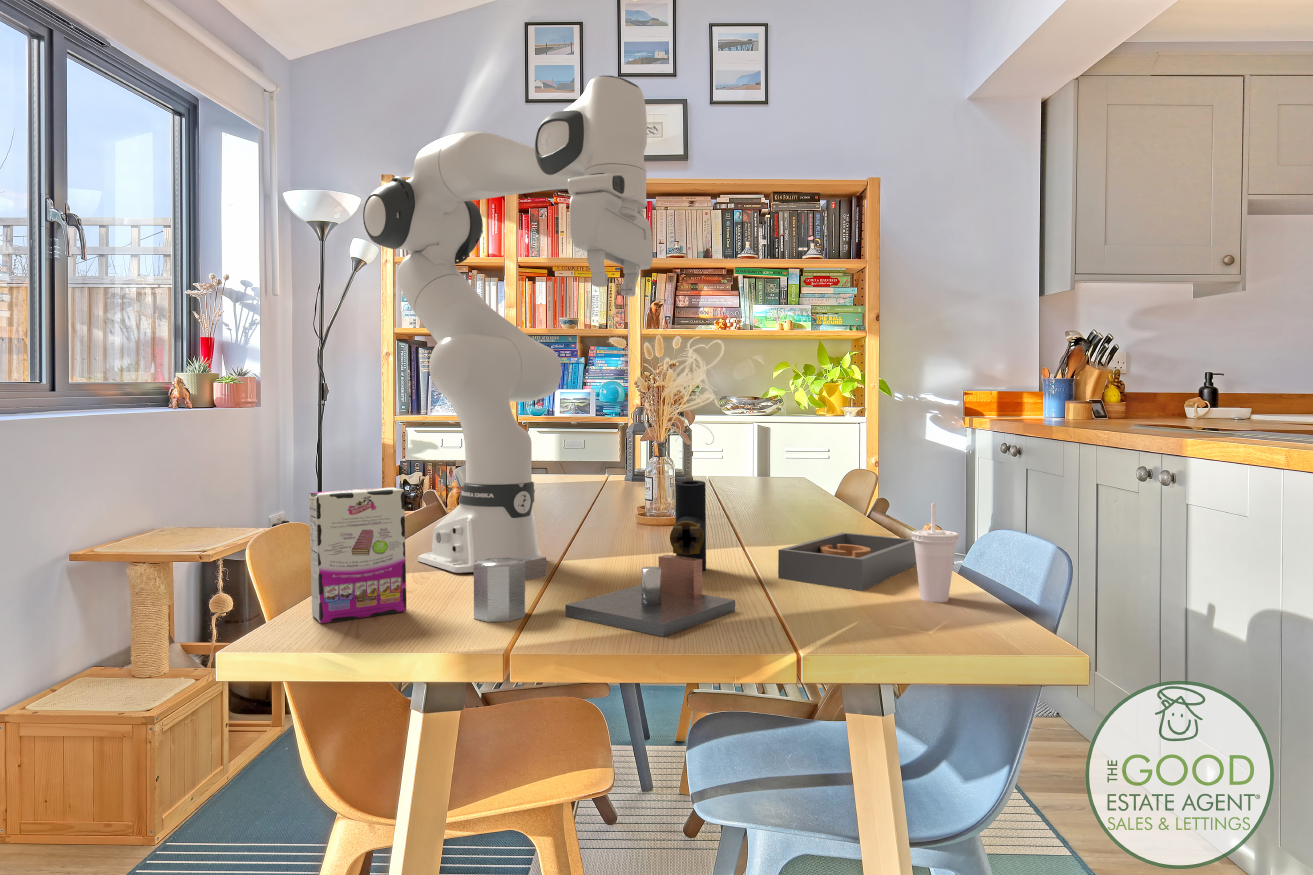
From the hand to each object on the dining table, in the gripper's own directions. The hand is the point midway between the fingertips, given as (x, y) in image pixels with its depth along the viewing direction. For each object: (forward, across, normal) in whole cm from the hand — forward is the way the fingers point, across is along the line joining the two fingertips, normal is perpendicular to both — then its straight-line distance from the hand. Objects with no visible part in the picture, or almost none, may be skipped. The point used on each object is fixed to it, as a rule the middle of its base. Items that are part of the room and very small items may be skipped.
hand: (614, 291), depth 115 cm
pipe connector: (+44, -18, +6) cm, 48 cm away
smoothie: (+44, -16, +43) cm, 64 cm away
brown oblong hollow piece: (+47, -36, +26) cm, 65 cm away
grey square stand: (+44, +7, +9) cm, 45 cm away
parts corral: (+44, -30, +30) cm, 61 cm away
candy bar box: (+44, +22, -26) cm, 56 cm away
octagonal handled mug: (+44, +16, -9) cm, 48 cm away
